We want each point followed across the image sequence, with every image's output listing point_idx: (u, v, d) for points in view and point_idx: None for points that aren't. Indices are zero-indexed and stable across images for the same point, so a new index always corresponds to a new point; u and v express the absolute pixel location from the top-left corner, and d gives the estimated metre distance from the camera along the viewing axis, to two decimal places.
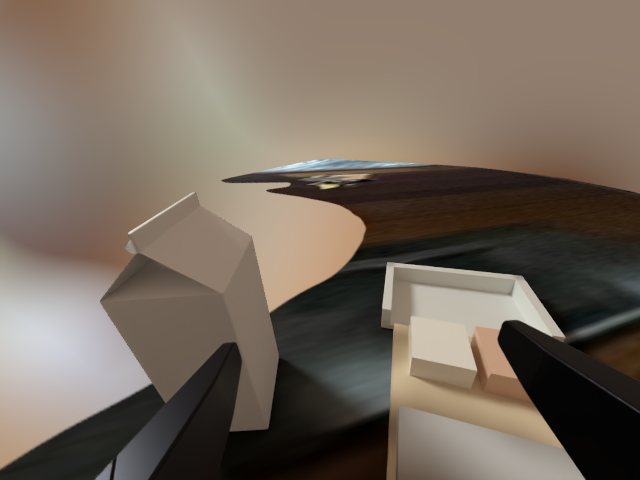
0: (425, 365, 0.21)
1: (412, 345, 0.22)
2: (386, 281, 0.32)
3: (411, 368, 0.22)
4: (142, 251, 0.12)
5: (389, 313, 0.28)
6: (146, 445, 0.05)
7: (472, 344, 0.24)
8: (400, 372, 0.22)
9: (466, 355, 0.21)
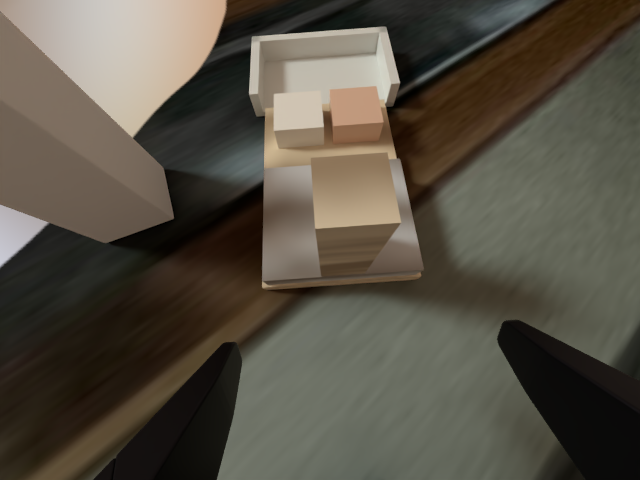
0: (286, 135, 0.24)
1: (274, 121, 0.24)
2: (252, 62, 0.29)
3: (277, 141, 0.25)
4: None
5: (258, 98, 0.27)
6: (146, 445, 0.05)
7: (329, 109, 0.27)
8: (271, 148, 0.26)
9: (317, 117, 0.24)
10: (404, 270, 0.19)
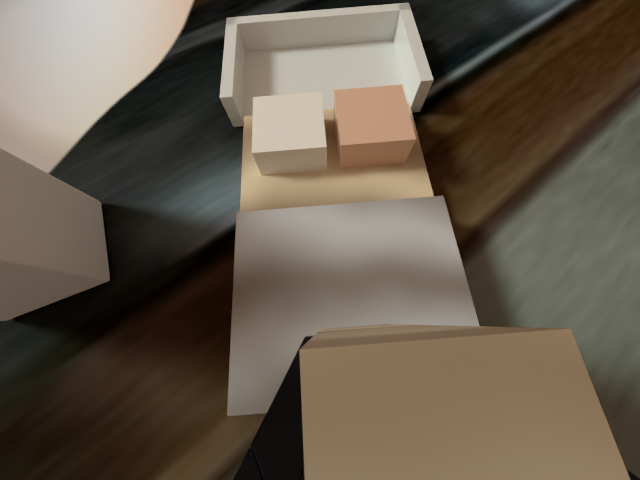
0: (271, 158, 0.16)
1: (253, 137, 0.16)
2: (225, 52, 0.21)
3: (259, 167, 0.17)
4: None
5: (232, 103, 0.19)
6: (277, 435, 0.05)
7: (333, 117, 0.19)
8: (251, 175, 0.18)
9: (317, 131, 0.16)
10: None
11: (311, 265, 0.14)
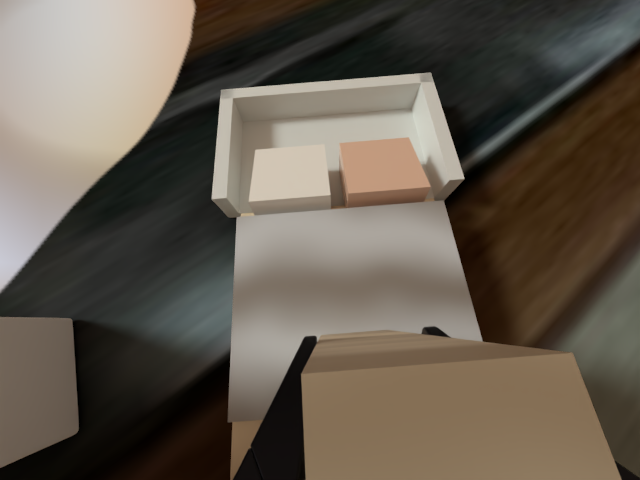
0: (270, 207, 0.15)
1: (252, 186, 0.15)
2: (219, 136, 0.18)
3: None
4: None
5: (227, 202, 0.17)
6: (277, 435, 0.05)
7: (339, 169, 0.18)
8: None
9: (320, 180, 0.15)
10: None
11: (311, 270, 0.14)
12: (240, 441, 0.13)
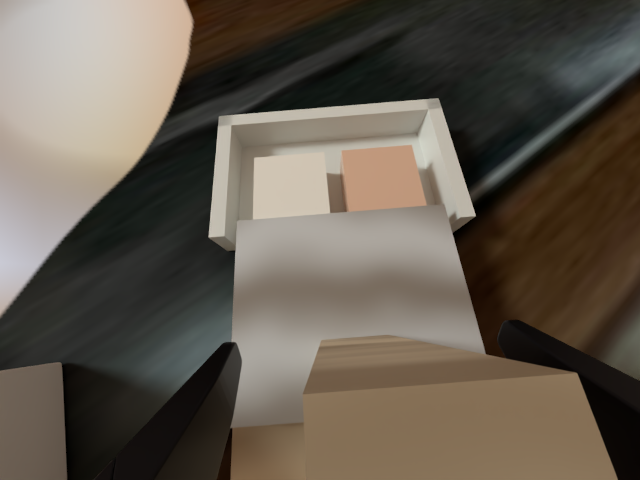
0: None
1: (254, 204, 0.16)
2: (216, 167, 0.17)
3: None
4: None
5: (225, 239, 0.16)
6: (146, 445, 0.05)
7: (340, 173, 0.18)
8: None
9: (320, 197, 0.16)
10: None
11: (312, 275, 0.14)
12: None
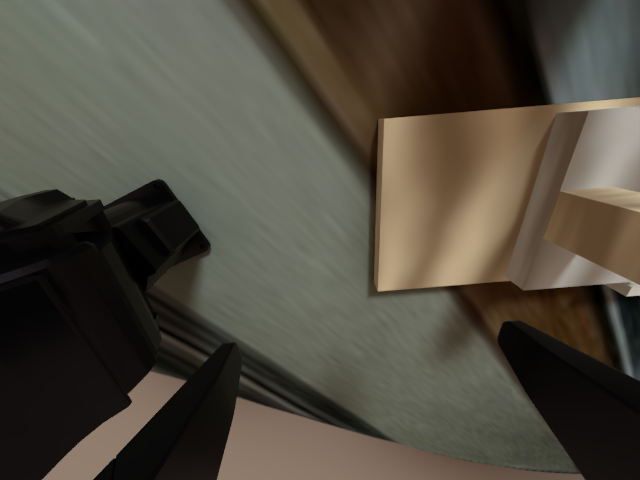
0: None
1: None
2: None
3: None
4: None
5: None
6: (146, 445, 0.05)
7: None
8: None
9: None
10: (529, 274, 0.19)
11: None
12: (496, 117, 0.16)
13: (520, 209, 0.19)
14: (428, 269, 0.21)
